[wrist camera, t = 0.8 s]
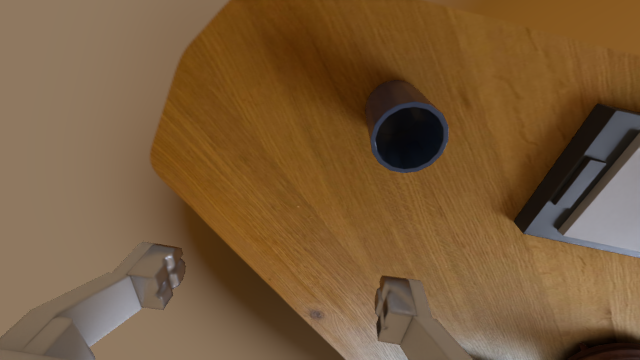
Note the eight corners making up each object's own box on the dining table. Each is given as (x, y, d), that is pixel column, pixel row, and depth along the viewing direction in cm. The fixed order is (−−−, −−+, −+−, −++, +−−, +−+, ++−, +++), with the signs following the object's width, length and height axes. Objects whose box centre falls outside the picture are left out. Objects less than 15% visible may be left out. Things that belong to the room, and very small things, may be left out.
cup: (374, 74, 29) (384, 94, 21) (431, 86, 29) (462, 111, 21) (358, 129, 32) (362, 164, 24) (410, 140, 32) (430, 179, 25)
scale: (597, 103, 29) (625, 112, 26) (743, 135, 29) (788, 148, 26) (513, 221, 37) (527, 239, 34) (628, 245, 37) (652, 265, 34)
